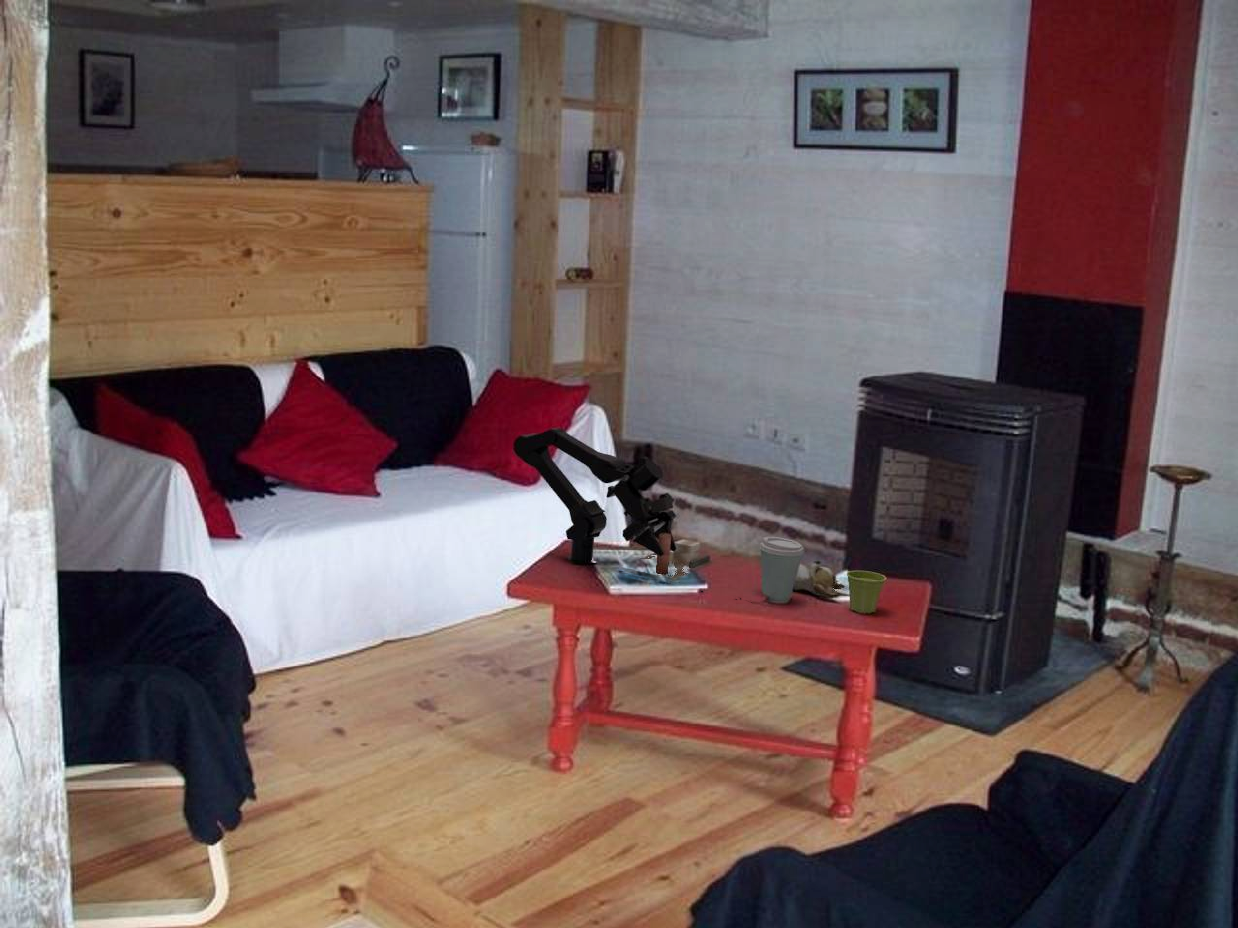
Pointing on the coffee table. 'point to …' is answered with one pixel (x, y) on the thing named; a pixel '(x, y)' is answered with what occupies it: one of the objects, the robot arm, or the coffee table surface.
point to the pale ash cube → (686, 551)
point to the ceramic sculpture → (817, 580)
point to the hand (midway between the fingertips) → (668, 552)
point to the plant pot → (864, 590)
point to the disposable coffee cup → (779, 567)
